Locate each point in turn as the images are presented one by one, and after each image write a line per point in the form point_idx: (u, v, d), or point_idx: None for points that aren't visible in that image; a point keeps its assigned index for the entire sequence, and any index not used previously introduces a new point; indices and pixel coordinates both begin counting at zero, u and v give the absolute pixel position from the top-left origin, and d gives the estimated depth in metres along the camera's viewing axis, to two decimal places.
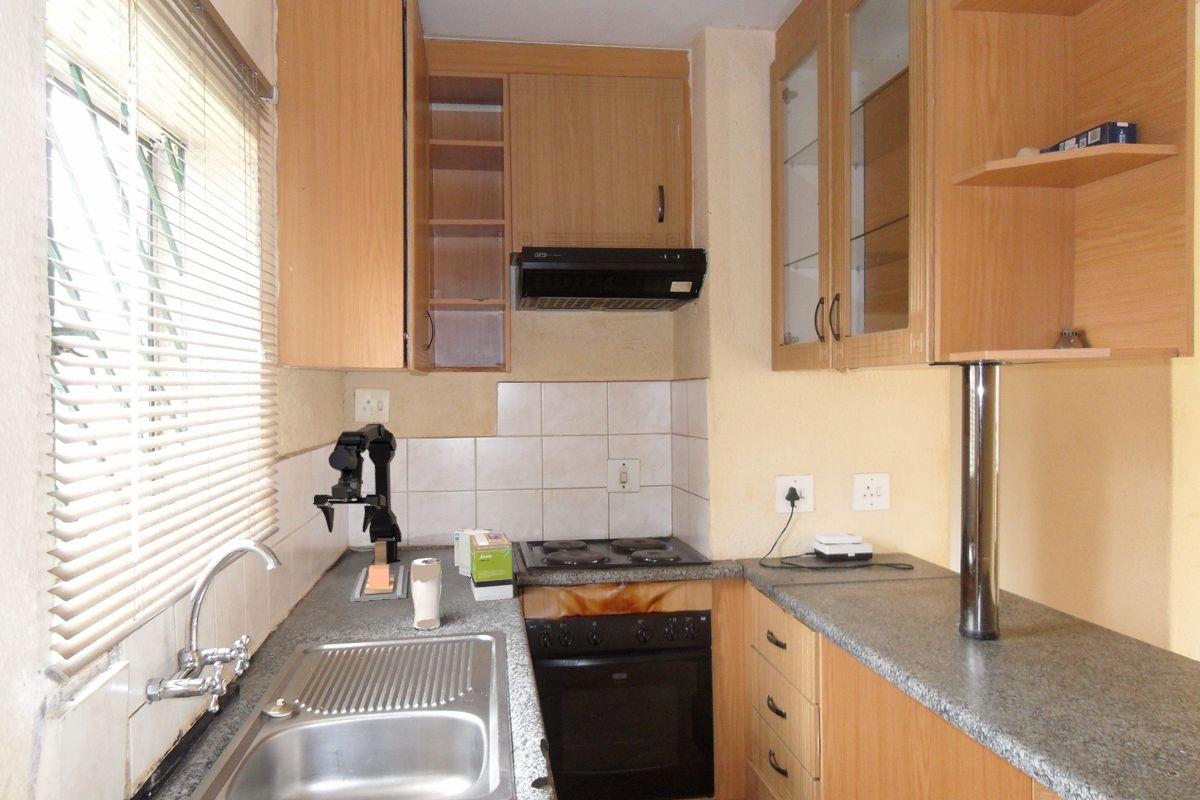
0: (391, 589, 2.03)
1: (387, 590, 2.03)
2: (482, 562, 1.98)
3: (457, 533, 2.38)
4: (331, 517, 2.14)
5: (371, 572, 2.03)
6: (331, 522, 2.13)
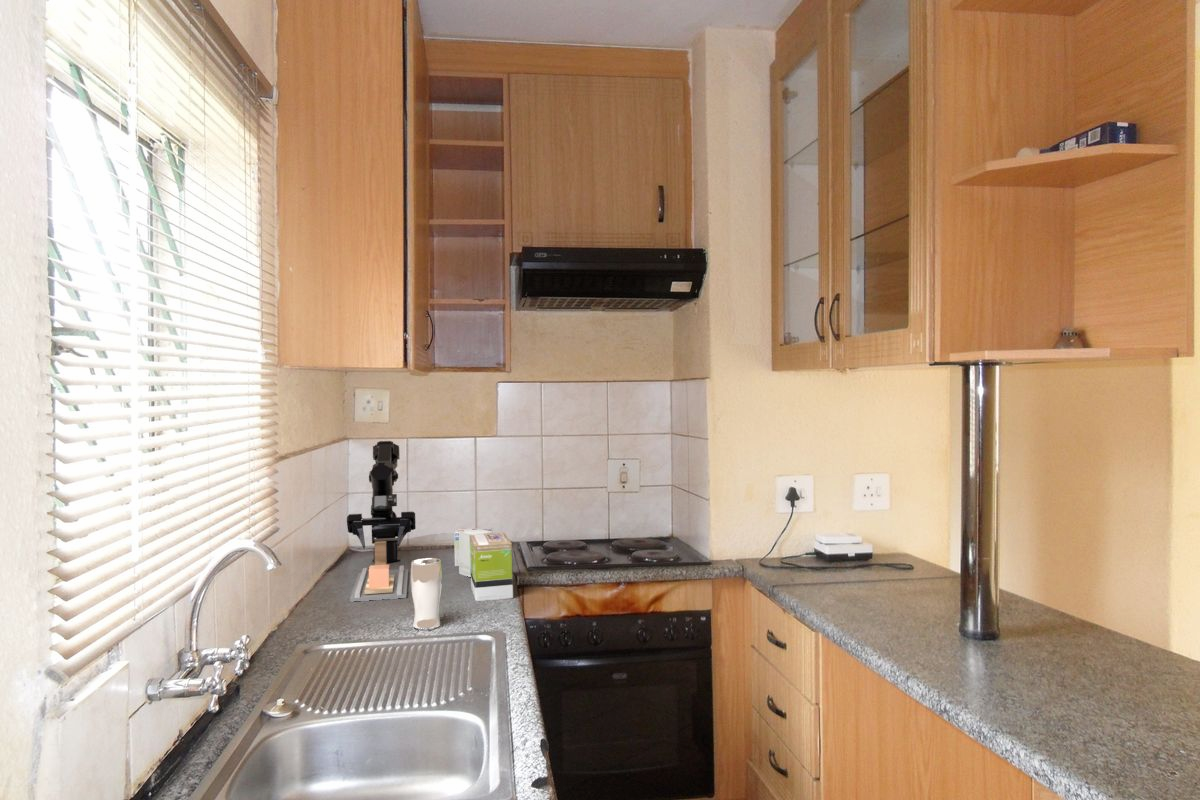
0: (391, 589, 2.03)
1: (387, 590, 2.03)
2: (482, 562, 1.98)
3: (457, 533, 2.38)
4: None
5: (371, 572, 2.03)
6: None
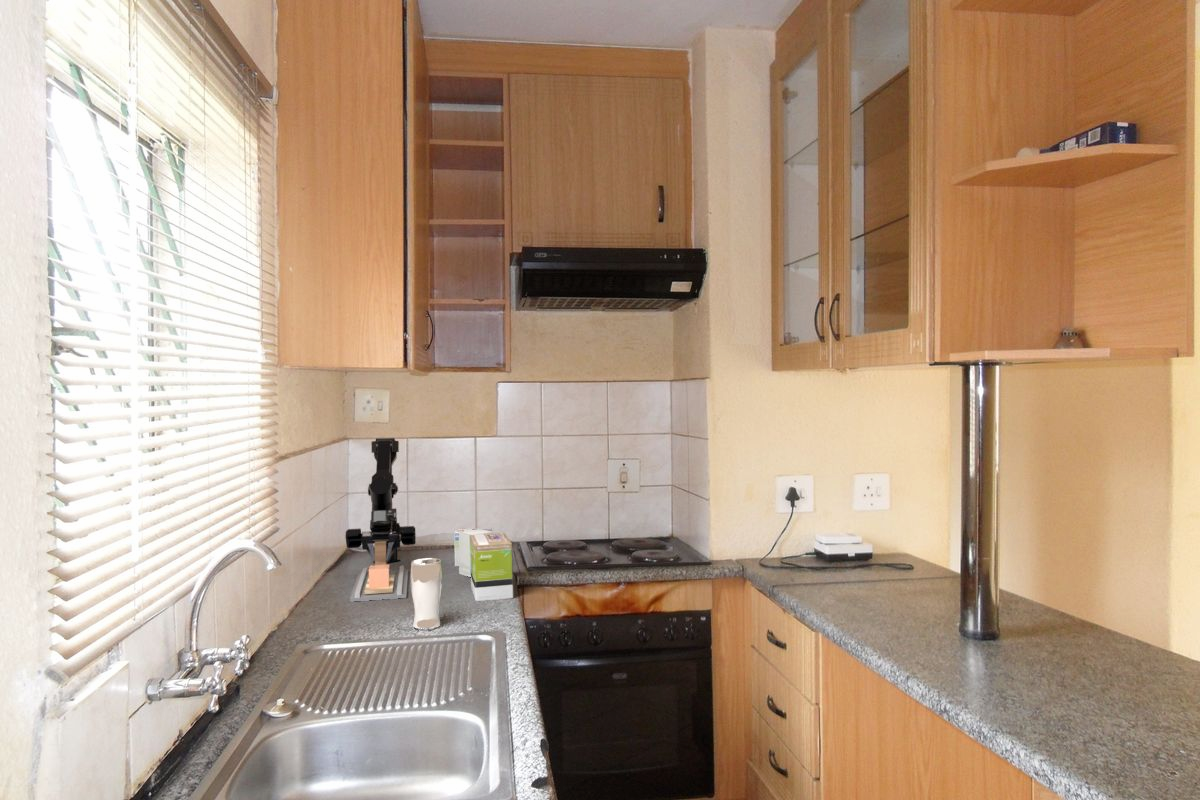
0: (391, 589, 2.03)
1: (387, 590, 2.03)
2: (482, 561, 1.98)
3: (457, 533, 2.38)
4: None
5: (371, 572, 2.03)
6: None
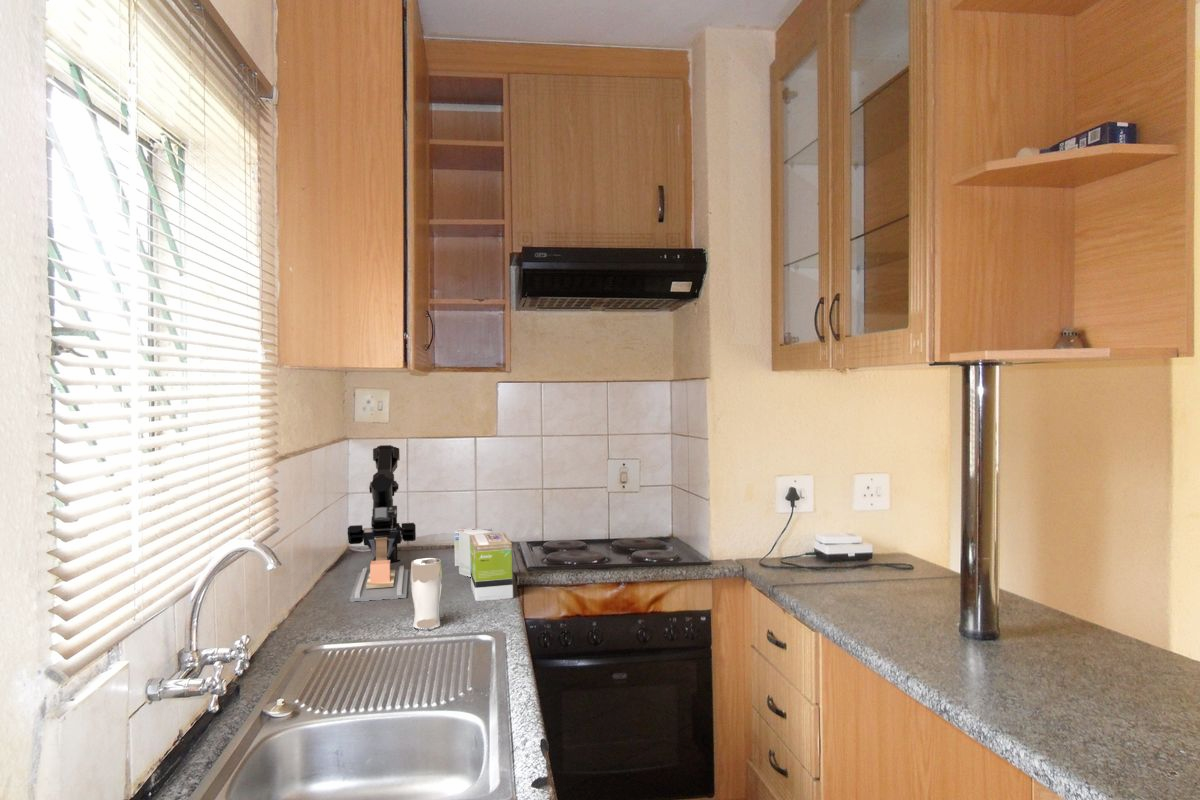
0: (392, 584, 2.09)
1: (388, 585, 2.08)
2: (482, 562, 1.98)
3: (457, 533, 2.38)
4: None
5: (372, 567, 2.09)
6: (375, 550, 2.20)
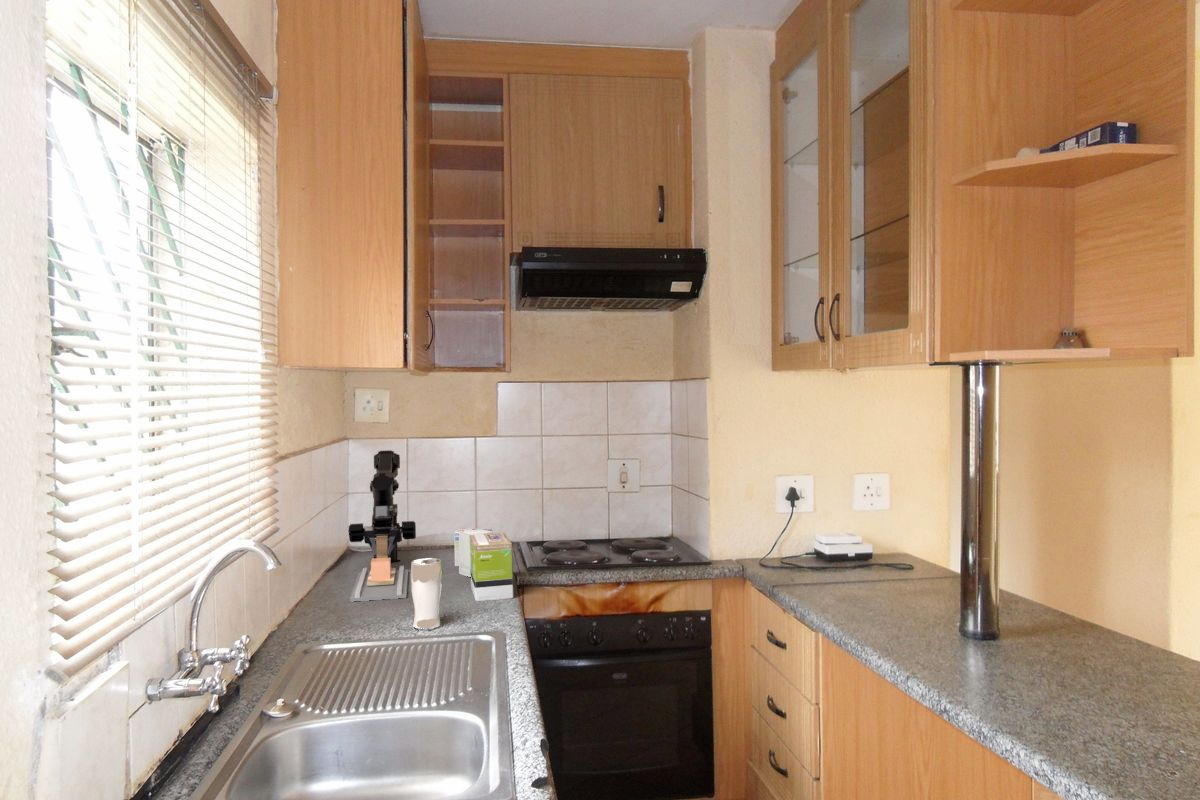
0: (392, 581, 2.12)
1: (388, 582, 2.11)
2: (482, 562, 1.98)
3: (457, 533, 2.38)
4: None
5: (373, 565, 2.12)
6: None
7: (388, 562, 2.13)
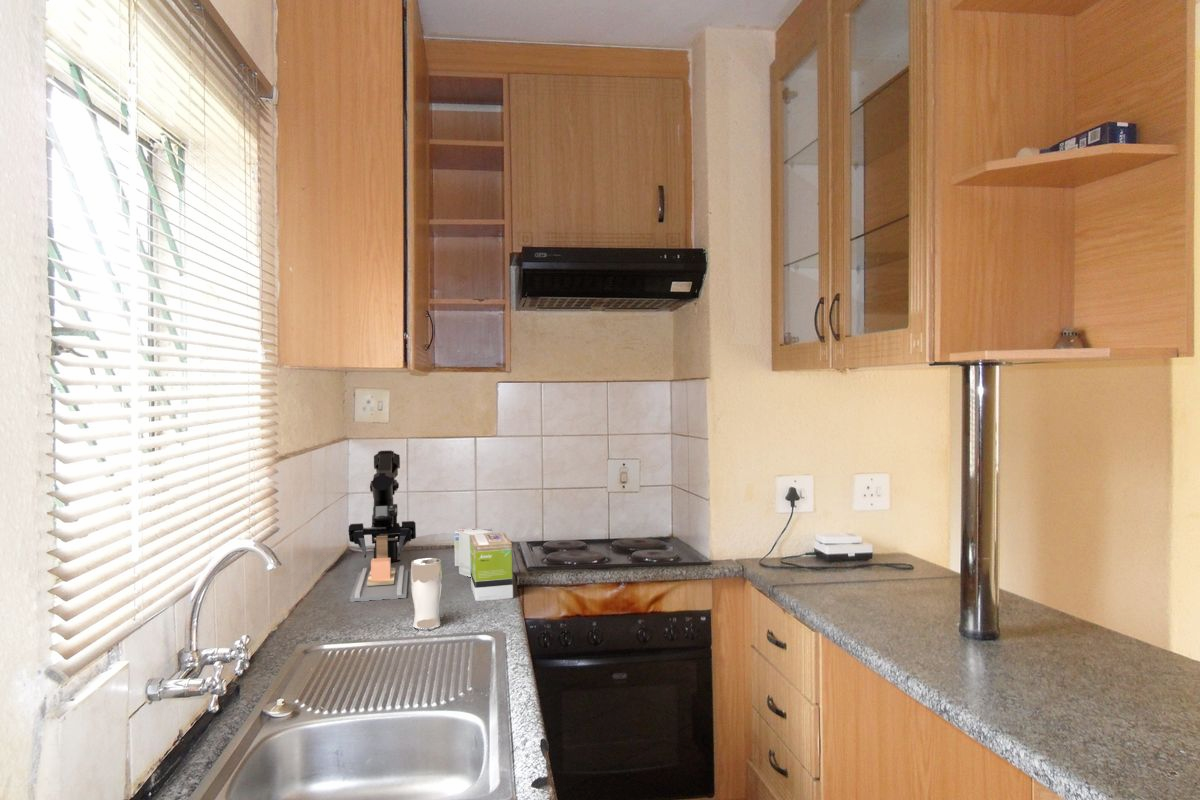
0: (392, 581, 2.12)
1: (388, 582, 2.11)
2: (482, 562, 1.98)
3: (457, 533, 2.38)
4: None
5: (373, 565, 2.12)
6: (365, 548, 2.22)
7: (388, 562, 2.13)
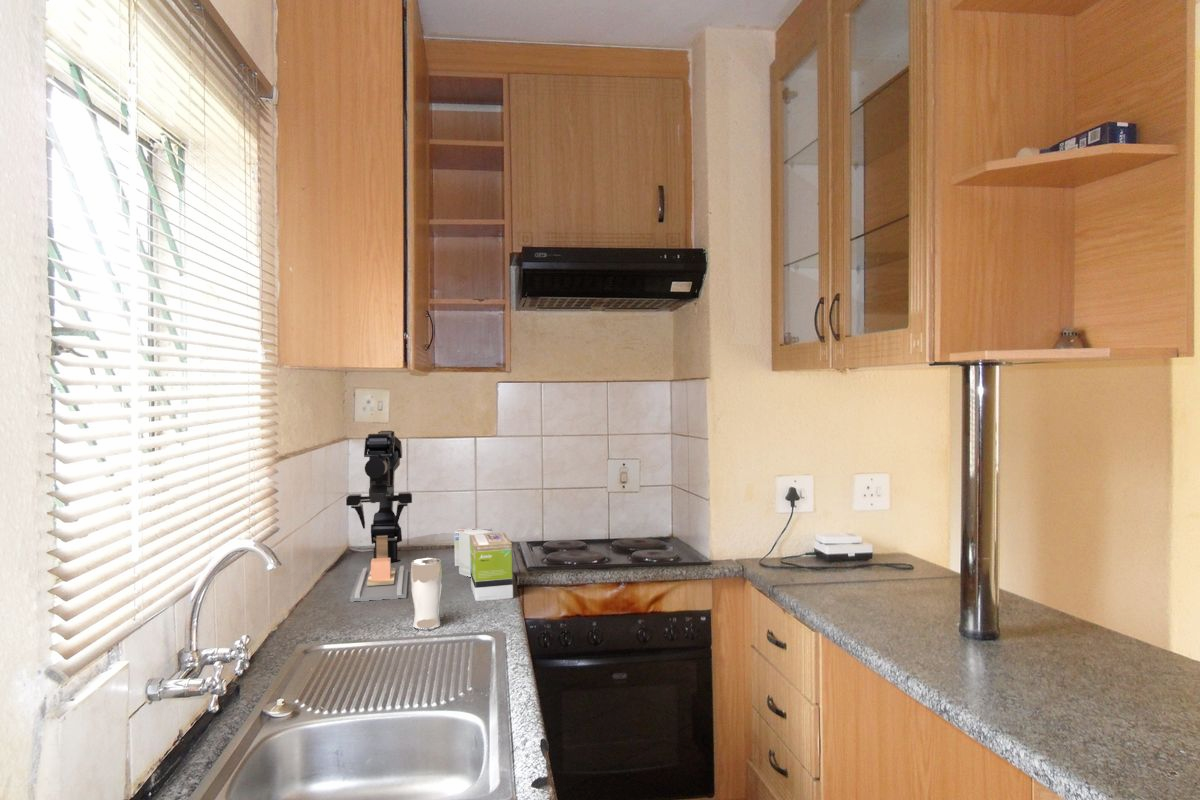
0: (392, 581, 2.12)
1: (388, 582, 2.11)
2: (482, 562, 1.98)
3: (457, 533, 2.38)
4: (363, 514, 2.32)
5: (373, 565, 2.12)
6: (364, 519, 2.32)
7: (388, 562, 2.13)
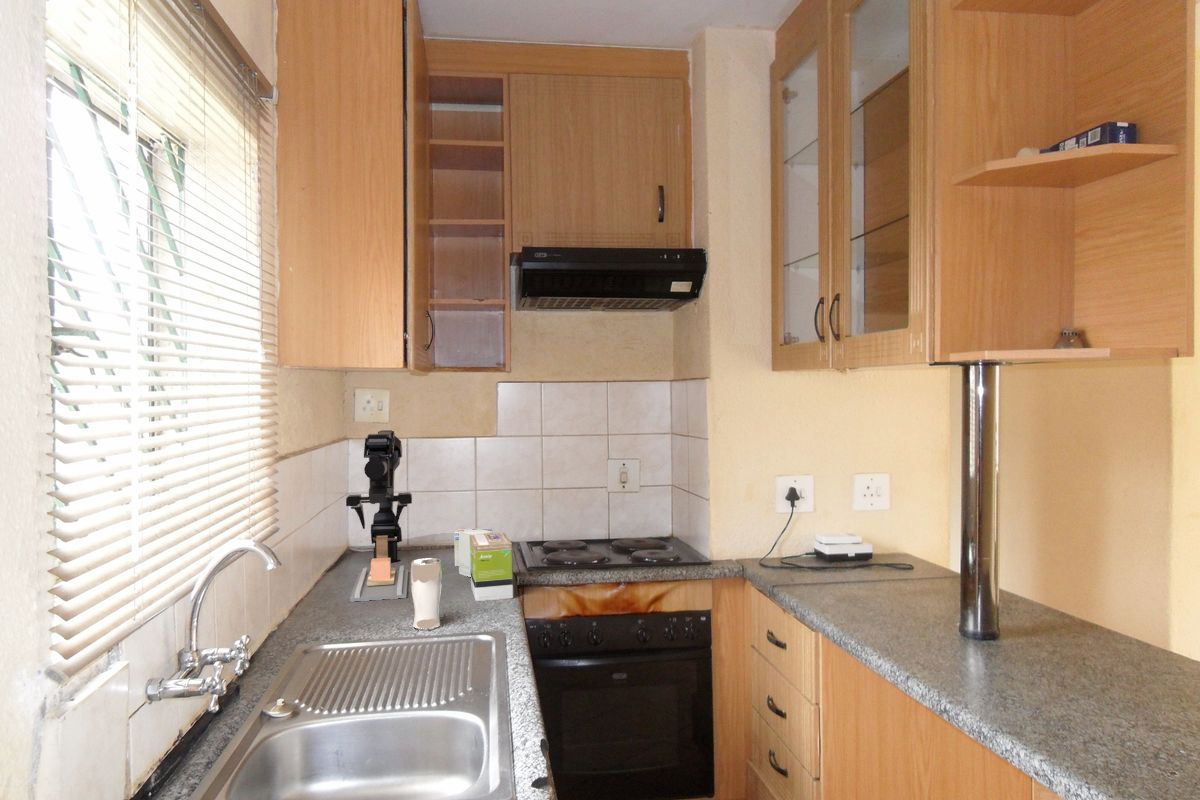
0: (392, 581, 2.12)
1: (388, 582, 2.11)
2: (482, 562, 1.98)
3: (457, 533, 2.38)
4: (363, 514, 2.32)
5: (373, 565, 2.12)
6: (363, 519, 2.32)
7: (388, 562, 2.13)
